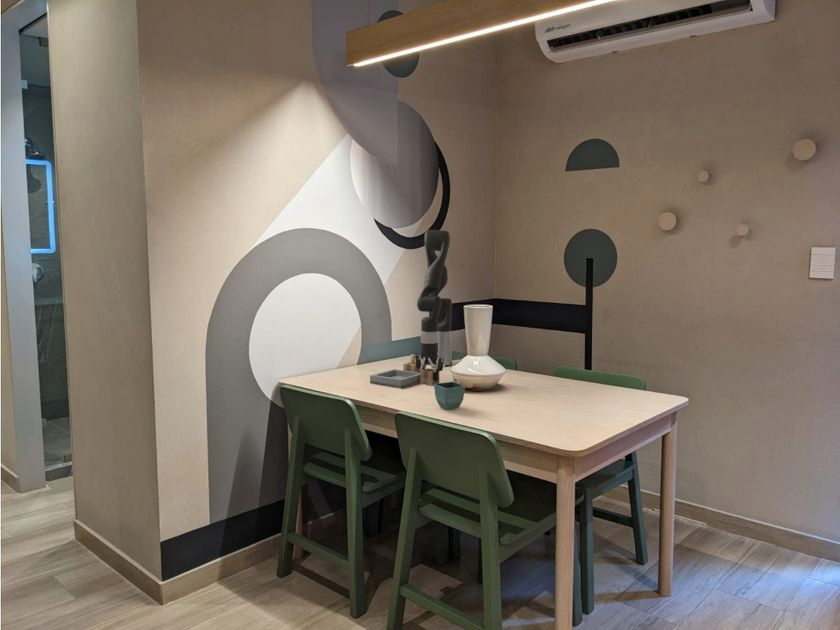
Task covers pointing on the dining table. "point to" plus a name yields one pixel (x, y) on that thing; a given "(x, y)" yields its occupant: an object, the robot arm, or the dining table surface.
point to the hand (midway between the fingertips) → (429, 379)
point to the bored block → (427, 377)
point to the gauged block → (411, 365)
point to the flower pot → (449, 394)
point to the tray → (395, 378)
